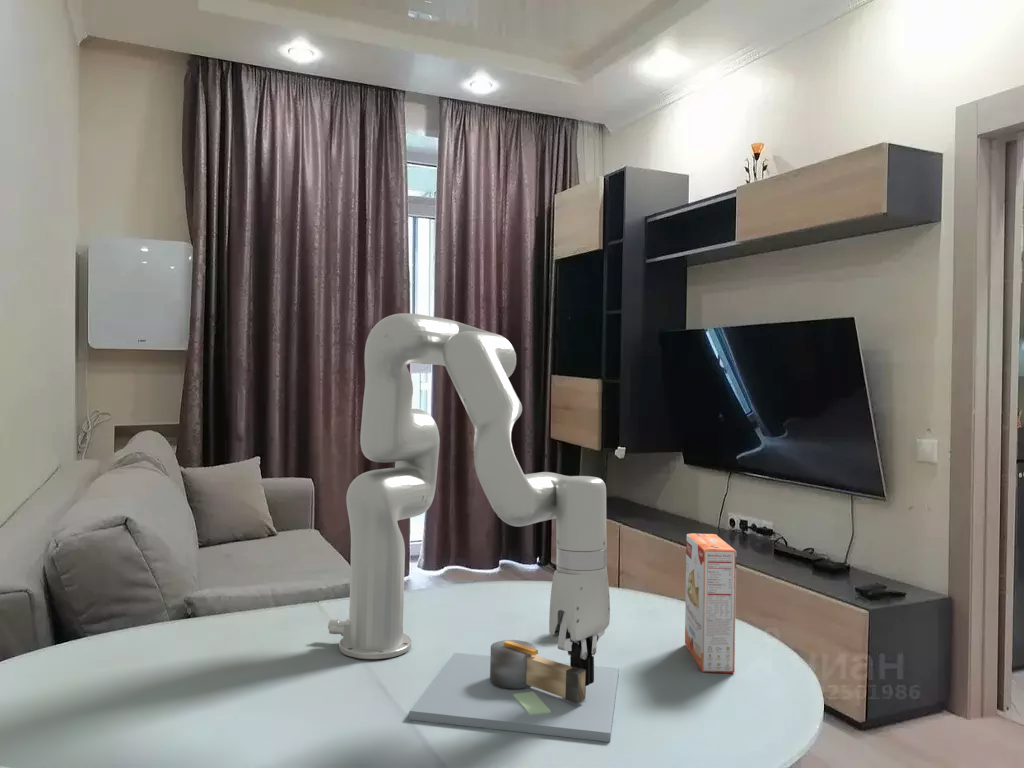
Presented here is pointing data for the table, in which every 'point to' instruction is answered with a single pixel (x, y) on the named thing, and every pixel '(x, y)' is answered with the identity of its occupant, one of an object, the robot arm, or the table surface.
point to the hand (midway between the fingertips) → (582, 682)
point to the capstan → (534, 671)
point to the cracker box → (710, 602)
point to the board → (516, 702)
